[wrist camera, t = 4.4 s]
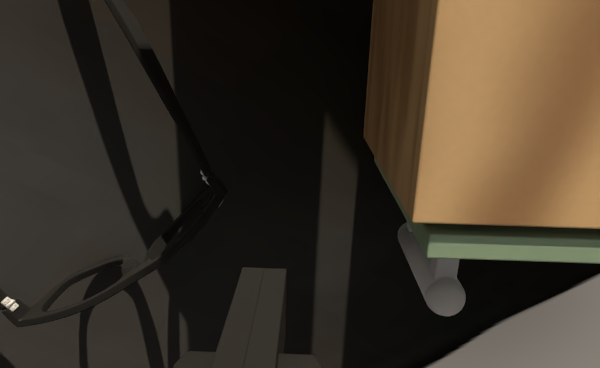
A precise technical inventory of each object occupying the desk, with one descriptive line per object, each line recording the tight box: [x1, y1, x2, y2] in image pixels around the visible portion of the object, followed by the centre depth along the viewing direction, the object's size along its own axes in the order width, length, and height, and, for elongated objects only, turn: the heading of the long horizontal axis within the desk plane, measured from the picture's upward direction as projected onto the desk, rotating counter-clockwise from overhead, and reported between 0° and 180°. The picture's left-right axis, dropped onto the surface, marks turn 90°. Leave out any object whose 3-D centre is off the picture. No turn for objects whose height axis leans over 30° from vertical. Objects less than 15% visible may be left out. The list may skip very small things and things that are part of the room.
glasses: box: [0, 0, 228, 327], centre depth 22 cm, size 17×18×5 cm
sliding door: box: [374, 156, 600, 316], centre depth 18 cm, size 8×4×11 cm, turn 89°
